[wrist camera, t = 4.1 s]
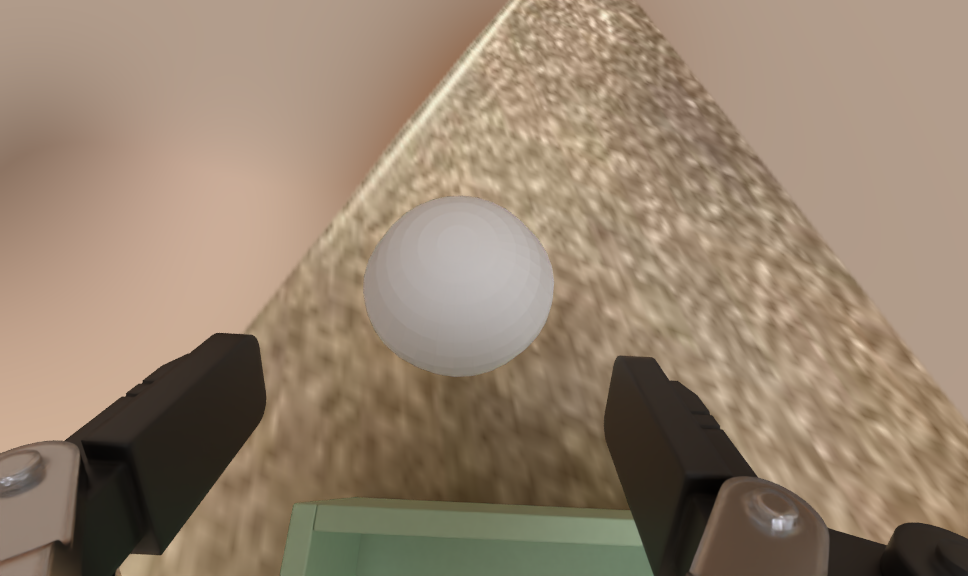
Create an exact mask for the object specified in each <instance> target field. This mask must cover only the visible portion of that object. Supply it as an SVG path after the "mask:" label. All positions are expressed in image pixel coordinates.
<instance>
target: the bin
mask: <svg viewBox="0 0 968 576" xmlns="http://www.w3.org/2000/svg"><path fill="white" fill-rule="evenodd" d="M280 576H654V575H653V572H652V569H651V566H650V564H649V561H648V558H647V555H646V552H645V550H644V547H643V544H642V541H641V538H640V536H639V533H638V530H637V527H636V524H635V521H634V519H633V516H632V513H631V510H614V509H593V508H572V507H551V506H530V505H509V504H488V503H468V502H447V501H426V500H405V499H384V498H363V497H353V498H342V499H332V500H322V501H311V502H301V503H295V504H294V505H293V509H292V514H291V519H290V525H289V530H288V535H287V540H286V545H285V550H284V555H283V561H282V566H281V571H280Z"/></svg>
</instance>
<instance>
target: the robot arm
mask: <svg viewBox="0 0 968 576" xmlns="http://www.w3.org/2000/svg"><path fill="white" fill-rule="evenodd" d="M265 406H266V390H265V383H264V376H263V369H262V362H261V355H260V348H259V343H258V340H257V338H256V337H255V336H253V335H247V334H228V333H216V334H214V335H212V336H211V337H210V338H208V339H207V340H206V341H204V342H203V343H202V344H201V345H200V346H198V347H197V348H196V349H194V350H193V351H192V352H191V353H189V354H186V355H184V356H182V357H180V358H178V359H175V360H173V361H171V362H169V363H167V364H165V365H163V366H161V367H160V368H158V369H157V370H156V371H154V372H153V373H152V374H151V375H149V376H148V377H147V378H145V379H144V380H143V383H142V384H138V385H136V386H135V387H134V388H132V389H131V390H130V391H128V392H127V393H126V396H125V397H121V398H119V399H118V400H117V401H115V402H114V403H113V404H112V405H110V406H109V407H108V408H106V409H105V410H104V411H102V412H101V413H100V414H99V415H97V416H96V417H95V418H93V419H92V420H91V421H89V423H87V424H86V425H84V426H83V427H82V428H80V429H79V430H78V431H76V432H75V433H74V434H73V435H71V436H70V437H69V438H67V439H66V440H65V441H54V440H53V441H43V442H37V443H32V444H28V445H23V446H20V447H17V448H13V449H11V450H8V451H6V452H3V453H0V576H122V575H121V572H120V570H119V566H120V565H121V564H122V563H123V562H124V560H125V559H126V558H127V557H128V555H129V554H148V555H162V553H163V552H164V551H165V549H166V548H167V547H168V545H169V544H170V543H171V541H172V540H173V539H174V537H175V536H176V535H177V533H178V532H179V531H180V529H181V528H182V527H183V525H184V524H185V523H186V521H187V520H188V519H189V517H190V516H191V515H192V513H193V512H194V510H195V509H196V508H197V506H198V505H199V504H200V502H201V501H202V500H203V498H204V497H205V496H206V494H207V493H208V492H209V490H210V489H211V488H212V486H213V485H214V484H215V482H216V481H217V480H218V478H219V477H220V476H221V474H222V473H223V471H224V470H225V469H226V467H227V466H228V465H229V463H230V462H231V461H232V459H233V458H234V457H235V455H236V454H237V453H238V451H239V450H240V449H241V447H242V446H243V445H244V443H245V442H246V441H247V439H248V438H249V437H250V435H251V434H252V432H253V431H254V430H255V428H256V427H257V426H258V424H259V423H260V421H261V419H262V417H263V414H264V411H265ZM604 432H605V439H606V443H607V446H608V448H609V451H610V454H611V457H612V460H613V463H614V465H615V468H616V471H617V474H618V477H619V479H620V482H621V485H622V488H623V491H624V493H625V496H626V499H627V502H628V505H629V507H630V510H631V513H632V516H633V519H634V521H635V524H636V527H637V530H638V533H639V536H640V538H641V541H642V544H643V547H644V550H645V552H646V555H647V558H648V561H649V564H650V566H651V569H652V572H653V575H654V576H968V539H967V538H965V537H963V536H961V535H958V534H956V533H953V532H951V531H949V530H946V529H943V528H940V527H936V526H933V525H929V524H923V523H905V524H902V525H900V526H898V527H897V528H896V529H895V531H894V533H893V535H892V537H891V539H890V541H889V543H888V545H884V544H880V543H877V542H873V541H870V540H866V539H863V538H860V537H856V536H853V535H849V534H846V533H842V532H839V531H836V530H832V529H829V528H827V526H826V524H825V523H824V521H823V519H822V518H821V517H820V515H819V514H818V513H817V512H816V511H815V510H814V509H813V508H812V507H811V506H810V505H809V504H808V503H807V502H806V501H805V500H803V499H802V498H800V497H799V496H798V495H796V494H795V493H793V492H791V491H790V490H788V489H786V488H784V487H782V486H780V485H778V484H775V483H773V482H770V481H767V480H764V479H761V478H758V477H757V475H756V474H755V473H754V471H753V470H752V469H751V467H750V466H749V465H748V463H747V462H746V461H745V459H744V458H743V456H742V455H741V454H740V452H739V451H738V450H737V448H736V447H735V446H734V444H733V443H732V442H731V440H730V439H729V438H728V436H727V435H726V433H725V432H724V431H723V430H720V425H719V424H718V423H717V421H716V420H715V419H714V417H713V416H712V415H710V412H709V410H708V409H707V408H706V406H705V405H704V404H703V402H702V401H701V400H700V398H699V397H698V396H697V395H696V394H695V393H693V392H692V391H691V390H689V389H688V388H686V387H685V386H684V385H682V384H681V383H680V382H678V381H669V379H668V378H667V376H666V375H665V373H664V372H663V370H662V369H661V367H660V366H659V365H658V363H657V362H656V360H655V359H654V358H652V357H636V356H618V357H617V358H616V360H615V362H614V366H613V371H612V377H611V382H610V388H609V393H608V399H607V404H606V410H605V416H604Z"/></svg>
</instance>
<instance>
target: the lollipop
mask: <svg viewBox="0 0 968 576" xmlns="http://www.w3.org/2000/svg"><path fill="white" fill-rule="evenodd" d="M553 288H554V278H553V271H552V266H551V263H550V260H549V258H548V255H547V252H546V250H545V249H544V247H543V246H542V244H541V243H540V241H539V239H538V238H537V237H536V236H535V235H534V234H533V233H532V232H531V231H530V230H529V229H528V228H527V227H526V225H525V224H524V223H523V222H522V221H521V220H519V219H518V218H517V217H516V216H515V215H513V214H512V213H511V212H509V211H508V210H507V209H505V208H503V207H501V206H499V205H497V204H495V203H493V202H490V201H487V200H484V199H480V198H476V197H468V196H447V197H443V198H438V199H433V200H430V201H428V202H425V203H423V204H420V205H418V206H416V207H415V208H413V209H411V210H410V211H408V212H406V213H405V214H404V215H403V216H402V217H401V218H400V219H398V220H397V221H396V222H395V223H394V224H393V225H392V226H391V227H390V229H389V230H388V231H387V232H386V234H385V235H384V236H383V238H382V239H381V240H380V241H379V243H378V244H377V245H376V247H375V249H374V251H373V253H372V255H371V256H370V258H369V260H368V264H367V267H366V271H365V275H364V289H363V293H364V299H365V304H366V309H367V313H368V316H369V319H370V321H371V323H372V326H373V328H374V330H375V332H376V333H377V335H378V336H379V337H380V339H381V340H382V341H383V343H384V344H385V345H386V346H387V347H388V348H389V349H390V350H392V351H393V352H394V353H395V354H396V355H397V356H398V357H400V358H402V359H403V360H405V361H407V362H409V363H411V364H412V365H414V366H416V367H418V368H421V369H423V370H426V371H429V372H432V373H435V374H438V375H445V376H452V377H462V376H474V375H478V374H482V373H486V372H490V371H492V370H494V369H496V368H498V367H500V366H502V365H504V364H506V363H508V362H509V361H510V360H512V359H513V358H514V357H516V356H517V355H518V354H520V353H521V352H523V351H524V350H525V349H526V348H527V347H528V346H529V345H530V344H531V343H532V342H533V341H534V339H535V338H536V337H537V336H538V334H539V333H540V331H541V329H542V328H543V326H544V324H545V323H546V320H547V317H548V314H549V311H550V308H551V304H552V299H553Z"/></svg>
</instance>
